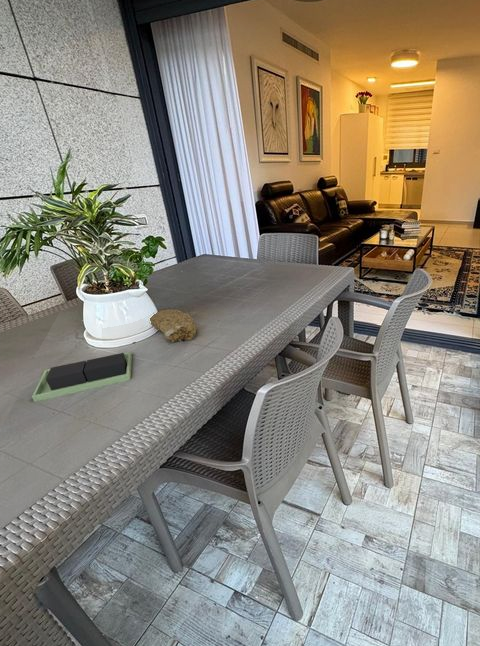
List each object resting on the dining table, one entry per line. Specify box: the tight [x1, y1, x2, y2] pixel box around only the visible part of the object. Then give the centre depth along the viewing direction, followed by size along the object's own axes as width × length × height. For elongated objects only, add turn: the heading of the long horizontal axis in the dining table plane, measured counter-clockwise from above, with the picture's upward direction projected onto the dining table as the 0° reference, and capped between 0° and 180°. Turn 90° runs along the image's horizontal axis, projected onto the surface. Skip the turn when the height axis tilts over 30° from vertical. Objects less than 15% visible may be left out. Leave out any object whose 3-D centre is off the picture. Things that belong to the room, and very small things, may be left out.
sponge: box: [150, 308, 197, 343], centre depth 116 cm, size 13×8×20 cm
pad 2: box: [84, 352, 127, 382], centre depth 95 cm, size 9×6×4 cm, turn 114°
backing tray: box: [31, 351, 133, 403], centre depth 94 cm, size 21×13×2 cm, turn 113°
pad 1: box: [46, 360, 88, 390], centre depth 92 cm, size 8×6×4 cm
